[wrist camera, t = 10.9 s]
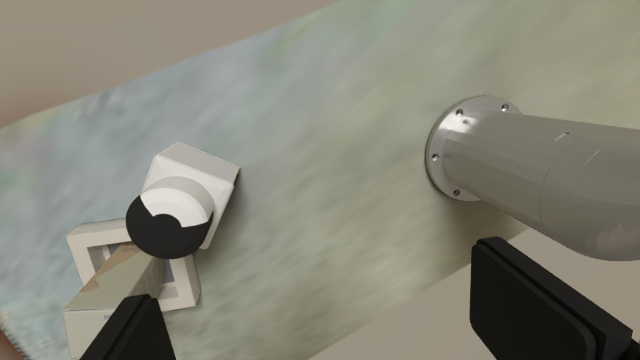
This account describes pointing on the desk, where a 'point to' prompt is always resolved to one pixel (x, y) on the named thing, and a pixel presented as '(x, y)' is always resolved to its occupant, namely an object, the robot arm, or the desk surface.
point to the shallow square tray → (102, 241)
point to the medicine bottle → (180, 202)
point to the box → (110, 293)
